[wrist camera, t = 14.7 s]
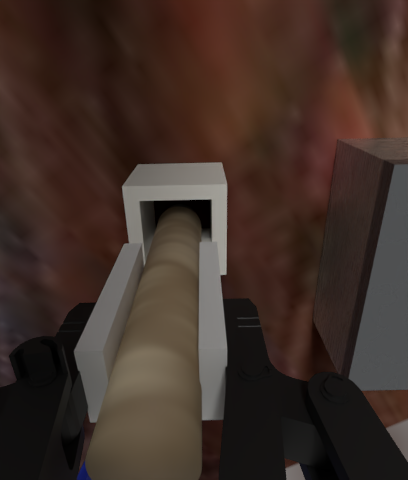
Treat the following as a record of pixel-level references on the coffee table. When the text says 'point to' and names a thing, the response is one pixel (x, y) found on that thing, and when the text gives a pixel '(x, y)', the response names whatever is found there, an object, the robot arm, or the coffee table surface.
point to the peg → (157, 368)
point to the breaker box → (366, 264)
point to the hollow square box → (176, 188)
